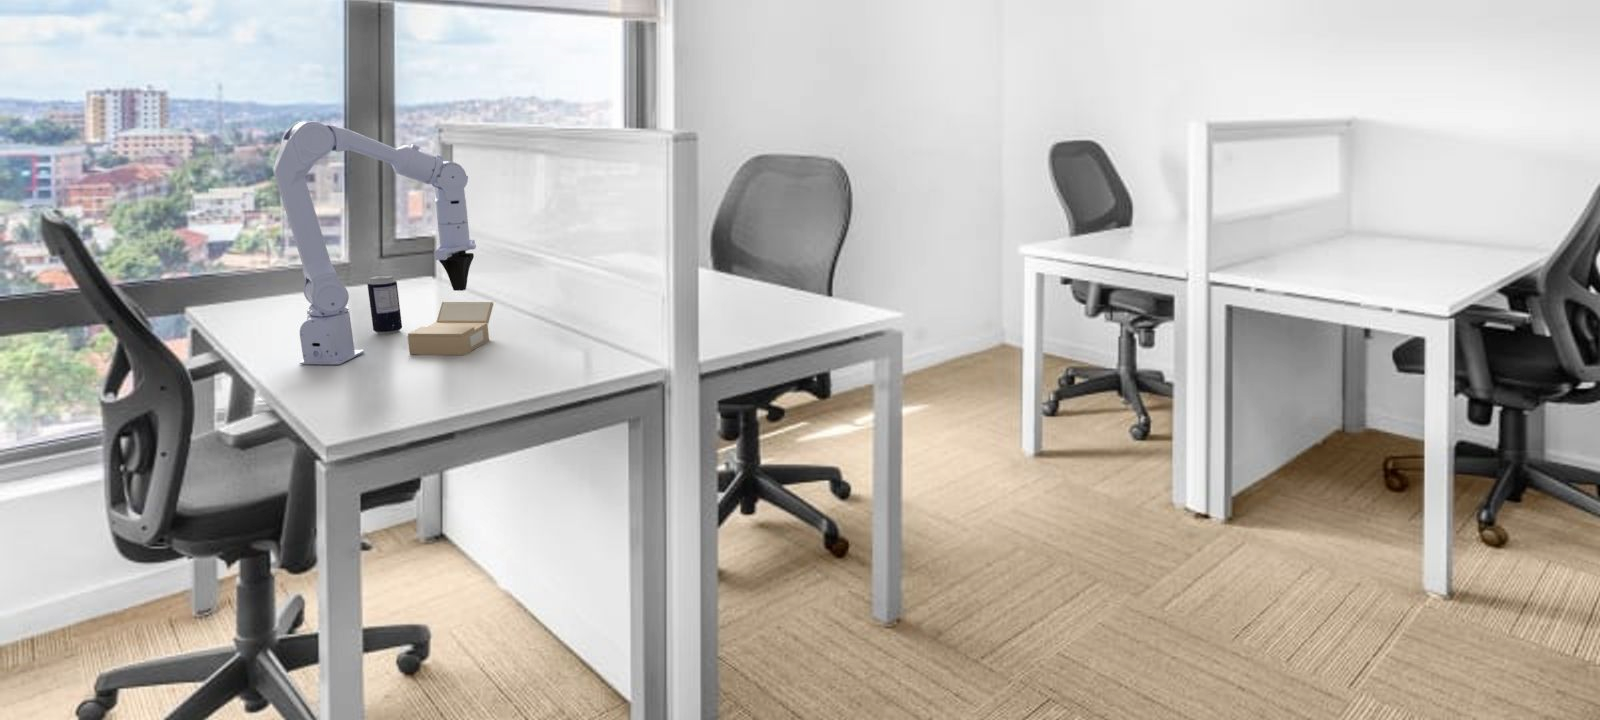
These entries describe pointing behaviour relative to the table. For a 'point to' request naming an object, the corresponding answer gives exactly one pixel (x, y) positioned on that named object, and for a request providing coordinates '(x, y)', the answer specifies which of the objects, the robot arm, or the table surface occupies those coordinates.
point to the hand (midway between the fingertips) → (459, 290)
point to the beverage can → (384, 304)
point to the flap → (465, 312)
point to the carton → (447, 338)
